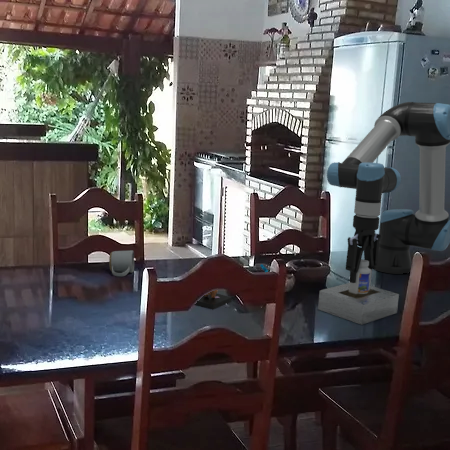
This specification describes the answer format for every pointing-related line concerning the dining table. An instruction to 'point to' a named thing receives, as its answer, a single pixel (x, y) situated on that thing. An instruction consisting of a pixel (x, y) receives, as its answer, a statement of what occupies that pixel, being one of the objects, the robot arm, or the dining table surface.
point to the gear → (264, 268)
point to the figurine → (213, 300)
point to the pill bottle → (364, 277)
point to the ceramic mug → (121, 262)
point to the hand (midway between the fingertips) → (359, 290)
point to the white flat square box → (358, 303)
